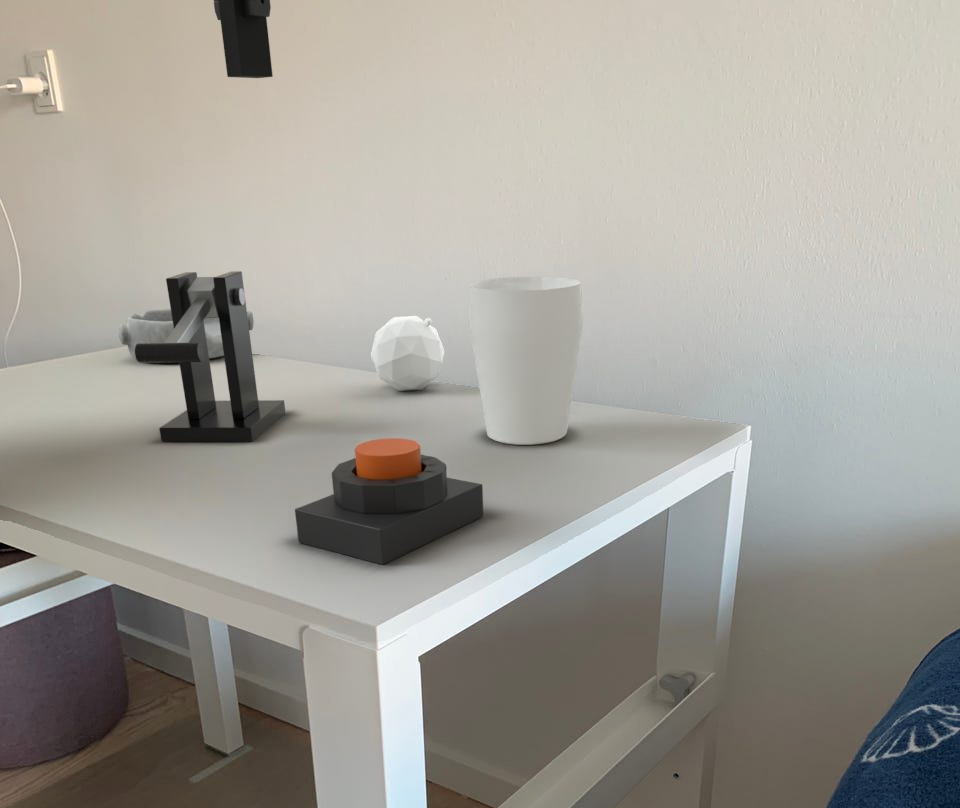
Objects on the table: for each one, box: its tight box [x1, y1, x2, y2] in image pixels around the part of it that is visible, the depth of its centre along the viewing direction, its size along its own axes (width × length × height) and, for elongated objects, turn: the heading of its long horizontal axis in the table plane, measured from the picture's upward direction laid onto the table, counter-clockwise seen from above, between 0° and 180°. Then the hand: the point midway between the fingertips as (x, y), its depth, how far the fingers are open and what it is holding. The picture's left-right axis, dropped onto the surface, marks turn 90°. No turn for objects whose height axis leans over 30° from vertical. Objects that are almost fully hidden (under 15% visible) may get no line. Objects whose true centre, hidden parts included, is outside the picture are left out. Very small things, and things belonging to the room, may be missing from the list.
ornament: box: [370, 315, 446, 392], centre depth 99 cm, size 7×7×8 cm
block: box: [294, 454, 484, 565], centre depth 63 cm, size 10×7×4 cm
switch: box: [135, 276, 219, 364], centre depth 81 cm, size 12×5×2 cm, turn 174°
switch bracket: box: [158, 270, 286, 443], centre depth 86 cm, size 10×8×13 cm
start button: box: [354, 437, 422, 479], centre depth 62 cm, size 4×4×2 cm
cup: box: [468, 276, 584, 446], centre depth 81 cm, size 9×9×12 cm
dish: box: [118, 308, 255, 360], centre depth 121 cm, size 14×14×5 cm
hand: (250, 76), depth 68 cm, fingers closed
